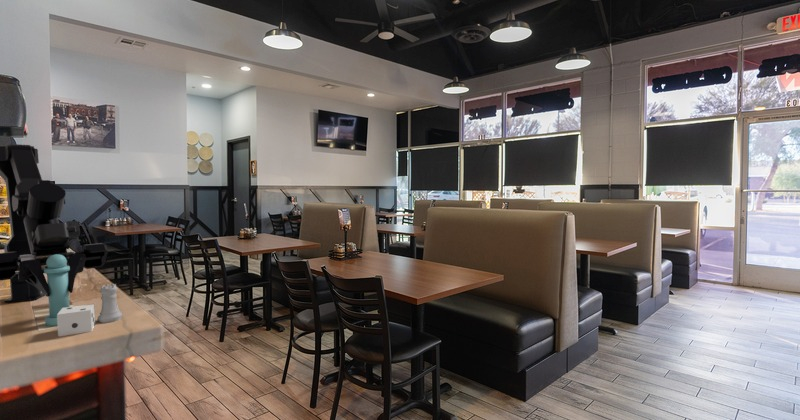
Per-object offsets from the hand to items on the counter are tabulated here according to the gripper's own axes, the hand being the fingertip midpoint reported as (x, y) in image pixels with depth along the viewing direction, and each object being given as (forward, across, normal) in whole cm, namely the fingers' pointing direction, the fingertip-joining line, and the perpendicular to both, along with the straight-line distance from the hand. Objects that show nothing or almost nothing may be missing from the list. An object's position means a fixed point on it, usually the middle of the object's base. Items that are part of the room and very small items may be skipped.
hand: (60, 293), depth 83 cm
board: (-2, +1, +12) cm, 13 cm away
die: (+10, +1, 0) cm, 10 cm away
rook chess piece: (+8, +7, +2) cm, 11 cm away
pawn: (+3, 0, +5) cm, 6 cm away
